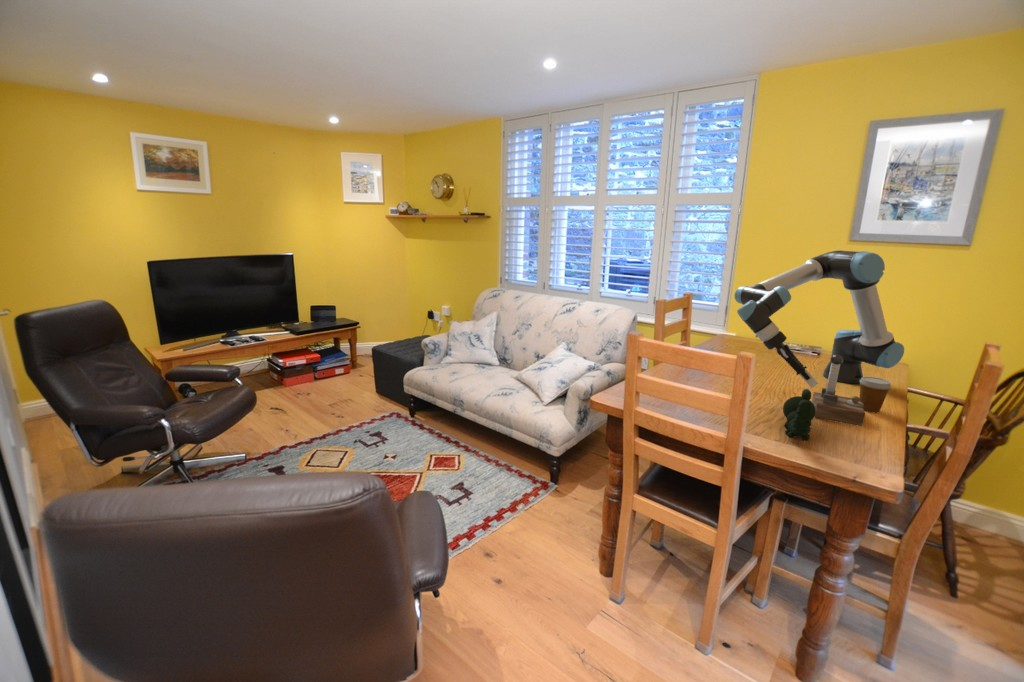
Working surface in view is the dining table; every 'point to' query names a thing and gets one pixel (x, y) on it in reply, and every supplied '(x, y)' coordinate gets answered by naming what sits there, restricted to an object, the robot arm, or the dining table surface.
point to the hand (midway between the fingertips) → (814, 385)
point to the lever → (833, 373)
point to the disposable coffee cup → (873, 393)
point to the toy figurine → (799, 415)
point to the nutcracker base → (838, 408)
